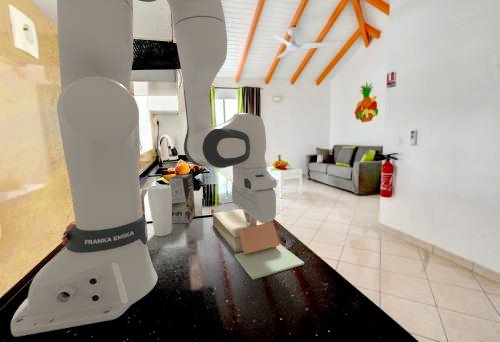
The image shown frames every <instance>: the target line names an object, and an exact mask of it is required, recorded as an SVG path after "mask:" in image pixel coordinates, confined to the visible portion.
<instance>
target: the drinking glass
mask: <svg viewBox="0 0 500 342" xmlns="http://www.w3.org/2000/svg"><path fill="white" fill-rule="evenodd" d="M147 198H148V206H149V211H150V216H151V221H152V226H153V234H154V236H156V237H166V236H169V235H171V234H172V232H173V223H172V192H171V186H170V185H169V184H156V185H151V186H148V187H147Z"/></svg>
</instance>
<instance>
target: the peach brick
mask: <svg viewBox="0 0 500 342" xmlns="http://www.w3.org/2000/svg"><path fill="white" fill-rule="evenodd" d="M238 231H239V236H240V240H241V244H242V249H243V251H242V252H243V253H244V254H248V253H252V252H256V251H260V250H264V249H268V248H272V247H276V246H279V244H280V242H279V239H278V235H277V232H276V229H275V223H274V222H273V221H270V222H265V223H264V224H261V225H256V226H250V227H245V228H241V229H240V230H238Z"/></svg>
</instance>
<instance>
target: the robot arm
mask: <svg viewBox="0 0 500 342" xmlns="http://www.w3.org/2000/svg"><path fill="white" fill-rule="evenodd" d="M138 1H141V2H145V3H153V2H155V1H157V0H138ZM166 1H167V3H168V5H169V8H170V11H171V15H172V16H171V17H172V23H173V31H174V36H175V37H174V38H175V43H176V46H177V55H178V60H179V63H180V70H181V77H182V87H183V88H182V89H183V98H184V106H185V115H186V116H185V117H186V133H185V137H184V141H183V152H184V155H185V157H186V159H187V160H188V161H189V162H190V163H191V164H193V165H194V166H196V167H209V168H213V169H214V168H215V169H225V168H230V167H232V183H231V184H232V185H231V200H232V203H233V204H234V206H236V207H238V209H242V210H244V216H245V219H246V226H247V227H250V226H256V225H257V221H260V222H261V223H264V224H265V223H271V222H273V221H274V220H275V218H276V215H277V196H276V195H277V194H276V191H275V190H274V189H276V188H277V179H276V178H274V176H273V175H271V174H270V172H269V171H268V170H267V169H268V168H267V161H266V156H265V155H266V151H267V138H266V137H267V136H266V135H267V134H266V127H265V123H264V120H263V118H261V117H260V116H259V115H257V114H254V113H249V112H247V113H246V112H237V113H234V114H233V116H232V117H231V118H229V119H227V120H226V121H224V122H222V123H220V124H218V125H215V126H213V124H212V114H211V101H210V96H211V95H210V93H211V89H212V86H213V82H214V81H215V79H216V77H217V75H218V73H219V72H220V71H221V69H222V67H223V66H224V64H225V62H226V60H227V56H228V55H227V54H228V36H227V35H228V34H227V27H226V19H225V12H224V7H223V3H222V0H166ZM56 12H57V13H56V14H57V15H56V17H57V18H56V20H57V21H56V22H57V45H58V56H59V70H60V73H59V74H60V88H61V91H60V92H61V93H60V94H59V96H58V100H57V103H56V111H57V118H58V125H59V130H60V137H61V143H62V149H63V154H64V159H65V164H66V171H67V176H68V181H69V186H70V188H69V189H70V193H71V202H72V208H73V216H74V220H73V221H71V222H69V224H68V225H67V226H66V227H65V231H64V232H63V234H62V237H61V243H62V244H61V245H64V246H65V248H63V249H62V250H61V251H60V252H59V253H58V254H56V255H55V256H54V257H53V258H52V259H51V260H49V261H48V262H47V263H46V264H44V266H43V267H42V268H40V269H39V271H38V272H37V274H36V275H35V276H34V277H33V279H32V281H31V283H30V286H29V290H28V294H27V298H25V299H24V301H23V302H22V303H21V304H20V305H19V306H18V307H17V308H18V309H16V311H15V312H14V315H12V316H13V317H12V319H11V321H10V333H11V335H12V336H13V337H22V336H27V335H28V336H29V335H35V334H39V333H40V334H41V333H44V332H50V331H51V332H52V331H55V330H61V329H62V330H63V329H66V328H72V327H79V326H85V325H90V324H94V323H101V322H106V321H112V320H115V319H117V318H119V317H120V316H122V315H123V314H124V313H125V312H126V311H127V310H128V309H129V308H130V307H131V306H132V305H133V304H135V303H136V302H138V301H139V300H141V299H142V298H143V297H145V296H147V294H149V293H150V292H151V291H152V290H153V289H154V287H155V286H156V284H157V282H158V273H157V272H156V270H155V267H154V265H153V262H152V259H151V256H150V251H149V248H148V238H149V237H148V236H149V234H148V223H147V219H146V215H145V213H143V204H142V194H141V193H142V192H141V184H140V183H141V182H140V151H141V150H140V149H141V148H140V143H141V142H140V138H141V137H140V111H139V106H138V104H137V101H136V99H135V97H134V96H133V94H132V93H131V91H130V90H131V89H130V87H131V77H132V67H133V60H134V1H133V0H56Z"/></svg>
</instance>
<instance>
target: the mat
mask: <svg viewBox="0 0 500 342" xmlns="http://www.w3.org/2000/svg"><path fill="white" fill-rule="evenodd" d="M233 255H234V258H235V259H236V261H238V263H239V264H240V265H241V267H242V268H243V270H245V272H246V273H247V274H248V276H249V277H250V278H251V280H256V279H259V278H262V277H267V276H269V275H272V274H276V273H279V272H282V271H286V270H287V271H288V270H290V269H293V268H296V267H300V266H303V265H305V262H304V261H303V260H302V259H300V257H298V256H296V255H295V254H294V253H293V252H292V251H289V250H288V249H287V248H286V247H284V245H282V244H281V243H279V246H276V247H272V248H268V249H264V250H260V251H256V252H252V253H248V254H244V253H243V251H241V252H237V253H234V254H233Z"/></svg>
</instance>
